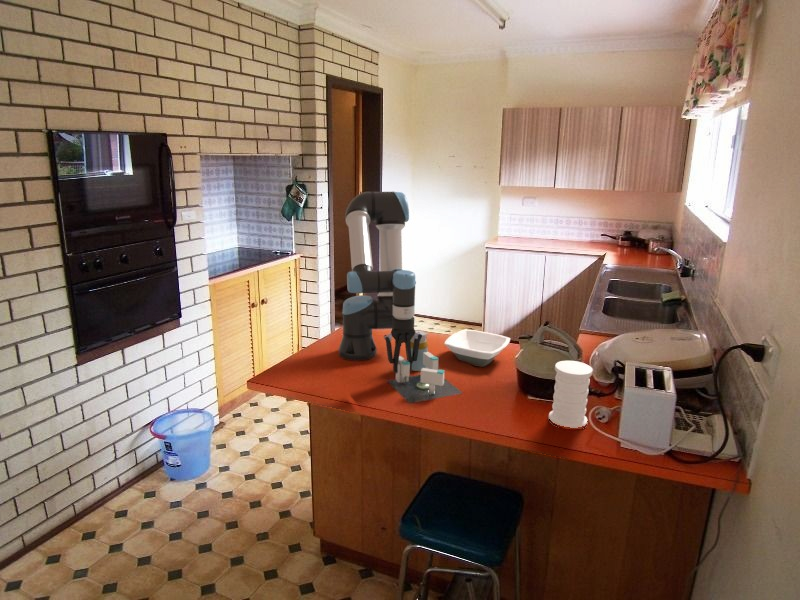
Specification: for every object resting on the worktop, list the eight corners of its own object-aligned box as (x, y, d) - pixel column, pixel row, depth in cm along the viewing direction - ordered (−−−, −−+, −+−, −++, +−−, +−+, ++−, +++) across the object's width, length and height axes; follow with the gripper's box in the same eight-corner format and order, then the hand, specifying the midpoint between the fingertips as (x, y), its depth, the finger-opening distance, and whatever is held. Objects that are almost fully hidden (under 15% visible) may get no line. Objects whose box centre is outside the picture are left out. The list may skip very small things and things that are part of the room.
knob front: (420, 392, 186) (420, 369, 184) (422, 389, 188) (422, 366, 186) (441, 396, 184) (442, 372, 182) (443, 393, 186) (444, 370, 184)
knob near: (394, 377, 197) (395, 356, 195) (400, 377, 198) (401, 355, 196) (403, 386, 191) (403, 363, 188) (409, 385, 192) (410, 362, 189)
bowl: (494, 376, 204) (495, 355, 202) (438, 363, 215) (439, 343, 212) (513, 357, 222) (515, 337, 220) (461, 346, 233) (462, 327, 231)
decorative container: (543, 423, 170) (549, 369, 165) (554, 408, 180) (560, 357, 175) (581, 434, 165) (588, 378, 160) (591, 418, 174) (598, 365, 169)
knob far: (422, 373, 202) (422, 351, 199) (427, 372, 203) (428, 350, 200) (432, 381, 195) (432, 359, 193) (437, 380, 196) (438, 358, 194)
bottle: (425, 374, 204) (426, 336, 200) (406, 373, 205) (407, 335, 201) (428, 367, 211) (429, 330, 207) (410, 365, 212) (410, 328, 208)
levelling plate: (386, 383, 196) (386, 378, 196) (436, 375, 204) (436, 369, 204) (409, 406, 180) (409, 400, 179) (462, 396, 188) (463, 390, 187)
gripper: (383, 321, 182) (383, 386, 189) (428, 318, 186) (426, 382, 193) (378, 314, 189) (378, 378, 196) (421, 311, 193) (420, 373, 200)
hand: (402, 380), depth 194 cm, fingers closed on knob near, 2 cm apart
